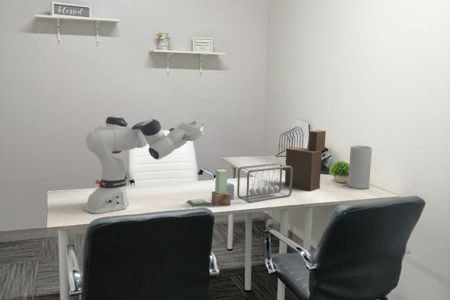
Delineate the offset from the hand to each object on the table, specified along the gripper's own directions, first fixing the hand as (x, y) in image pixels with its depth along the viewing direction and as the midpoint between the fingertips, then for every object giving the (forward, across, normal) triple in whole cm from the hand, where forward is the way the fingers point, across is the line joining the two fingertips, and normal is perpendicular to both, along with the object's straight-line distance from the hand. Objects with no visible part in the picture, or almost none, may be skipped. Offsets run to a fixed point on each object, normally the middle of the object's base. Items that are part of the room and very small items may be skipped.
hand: (200, 123), depth 215 cm
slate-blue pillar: (-4, -5, +45) cm, 45 cm away
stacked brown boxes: (+44, -8, +70) cm, 83 cm away
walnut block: (-12, -11, +40) cm, 44 cm away
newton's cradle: (+12, -13, +53) cm, 56 cm away
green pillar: (-10, -10, +35) cm, 38 cm away
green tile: (-21, -4, +36) cm, 42 cm away
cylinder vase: (+71, -25, +83) cm, 112 cm away
